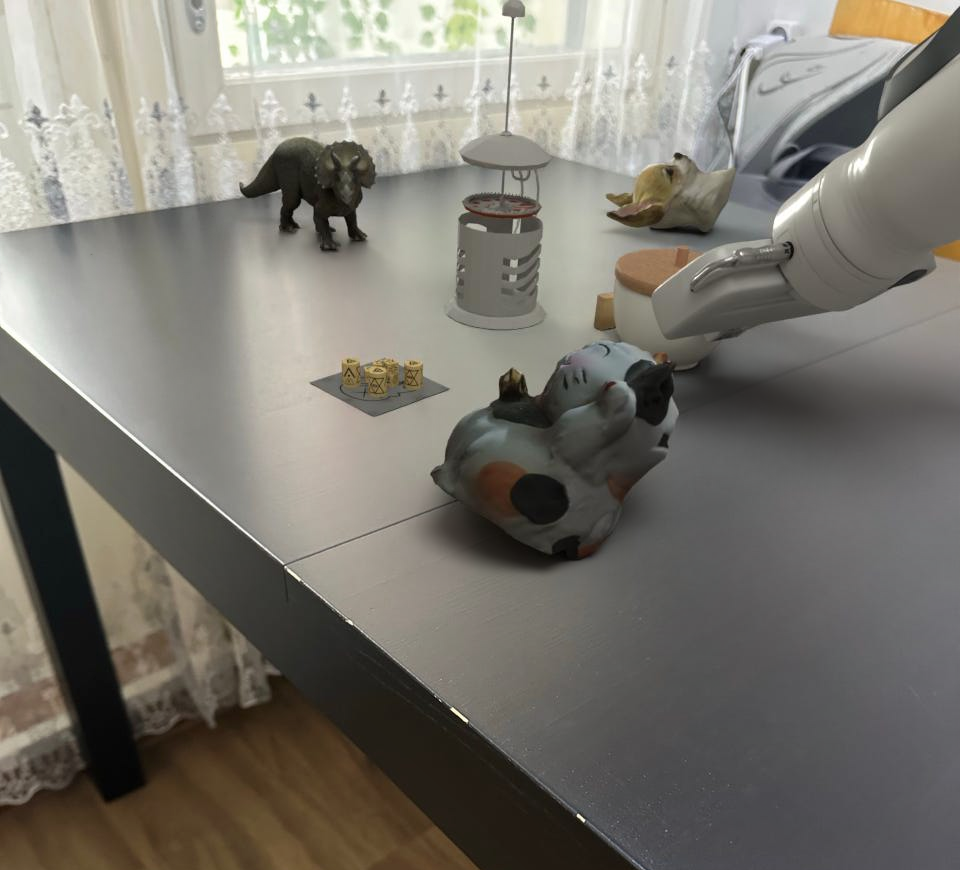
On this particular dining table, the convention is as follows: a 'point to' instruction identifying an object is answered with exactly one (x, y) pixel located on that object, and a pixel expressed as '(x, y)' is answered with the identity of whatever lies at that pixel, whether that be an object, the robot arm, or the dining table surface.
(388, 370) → the dice set
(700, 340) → the trinket box
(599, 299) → the guide rail
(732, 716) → the dining table surface
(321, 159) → the toy dinosaur
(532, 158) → the french press
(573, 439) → the lucky cat figurine
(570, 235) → the dining table surface
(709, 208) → the ceramic sculpture
